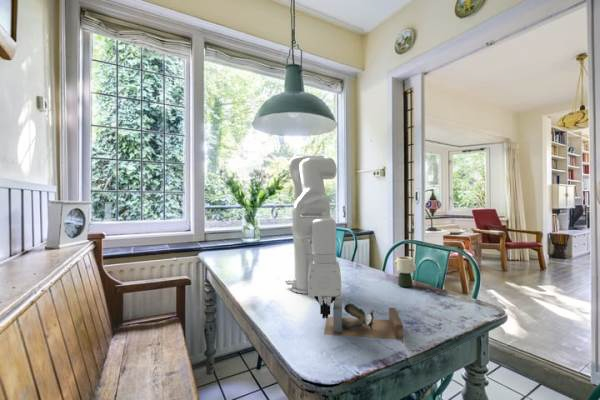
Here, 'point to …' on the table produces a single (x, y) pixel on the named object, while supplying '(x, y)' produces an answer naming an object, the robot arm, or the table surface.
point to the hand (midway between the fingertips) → (325, 316)
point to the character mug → (405, 270)
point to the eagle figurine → (360, 315)
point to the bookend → (337, 316)
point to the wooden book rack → (379, 328)
